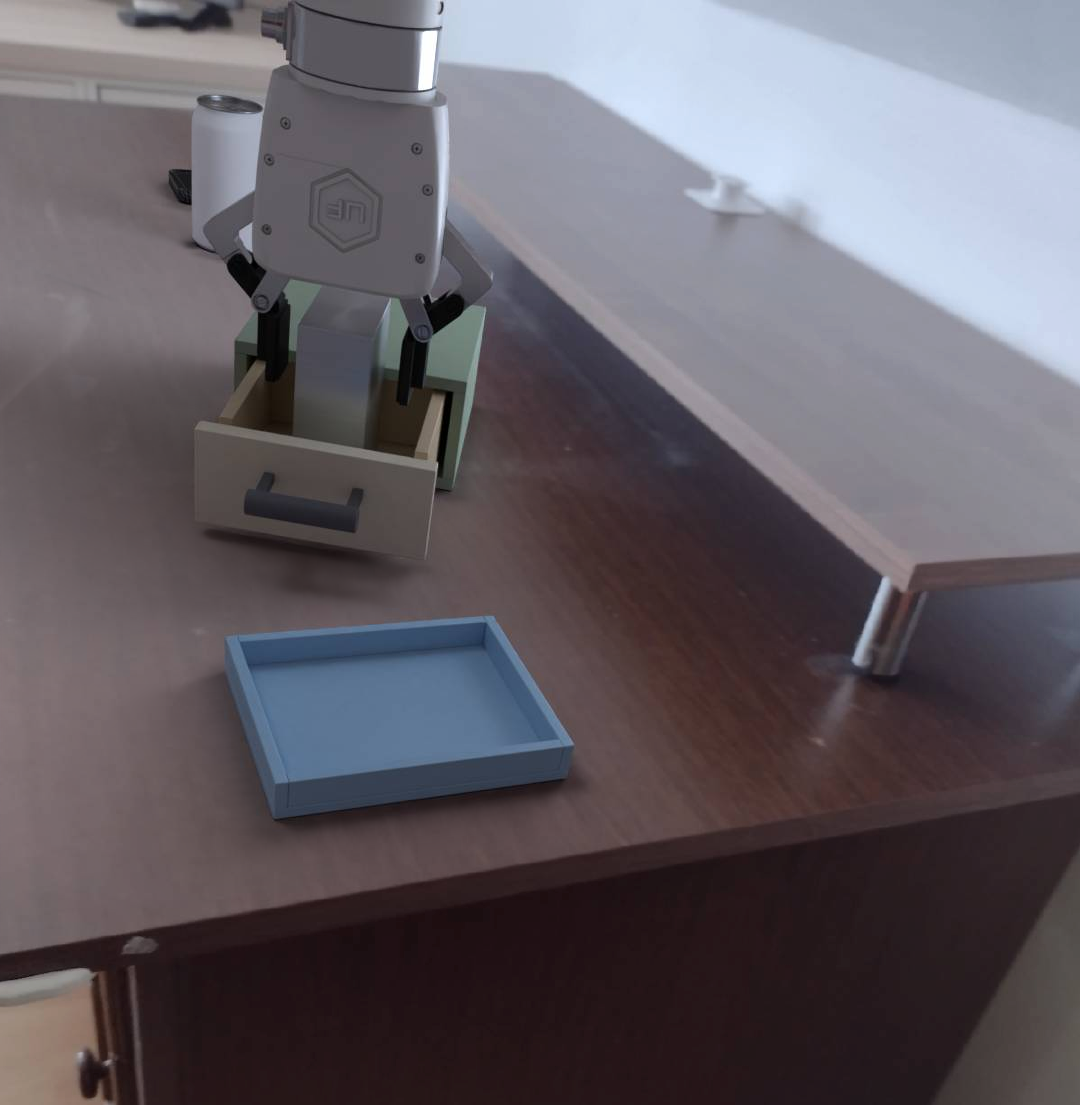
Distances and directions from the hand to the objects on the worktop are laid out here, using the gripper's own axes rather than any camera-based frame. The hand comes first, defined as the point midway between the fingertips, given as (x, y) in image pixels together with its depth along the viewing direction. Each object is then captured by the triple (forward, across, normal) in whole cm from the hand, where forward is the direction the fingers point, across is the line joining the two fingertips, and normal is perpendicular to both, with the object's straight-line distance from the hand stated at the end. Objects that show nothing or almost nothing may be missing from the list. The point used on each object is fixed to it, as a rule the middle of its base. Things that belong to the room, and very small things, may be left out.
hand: (341, 383), depth 71 cm
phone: (+8, -20, +61) cm, 65 cm away
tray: (+8, +7, -22) cm, 24 cm away
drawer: (+7, 0, -3) cm, 7 cm away
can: (+8, -18, +45) cm, 49 cm away
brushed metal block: (+6, 0, 0) cm, 6 cm away
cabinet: (+8, 0, +11) cm, 13 cm away
